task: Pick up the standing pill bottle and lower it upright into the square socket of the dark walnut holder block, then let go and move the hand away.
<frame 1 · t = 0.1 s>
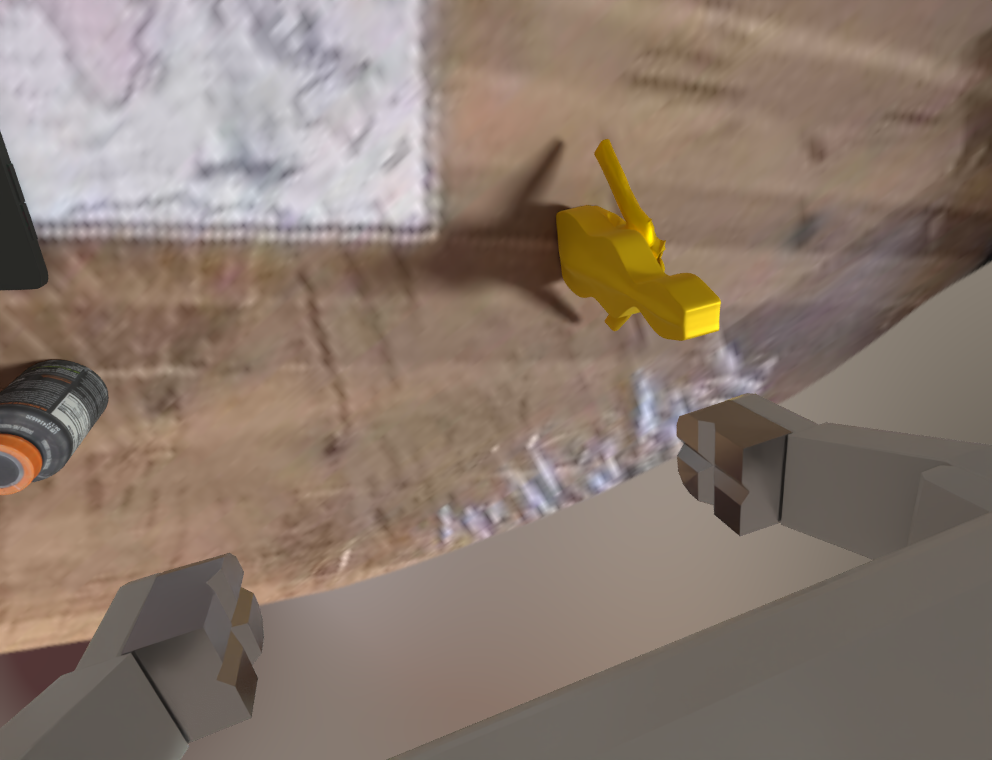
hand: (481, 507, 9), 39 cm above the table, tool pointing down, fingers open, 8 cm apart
pill bottle: (67, 390, 42), on the table
figure statuette: (575, 240, 50), on the table
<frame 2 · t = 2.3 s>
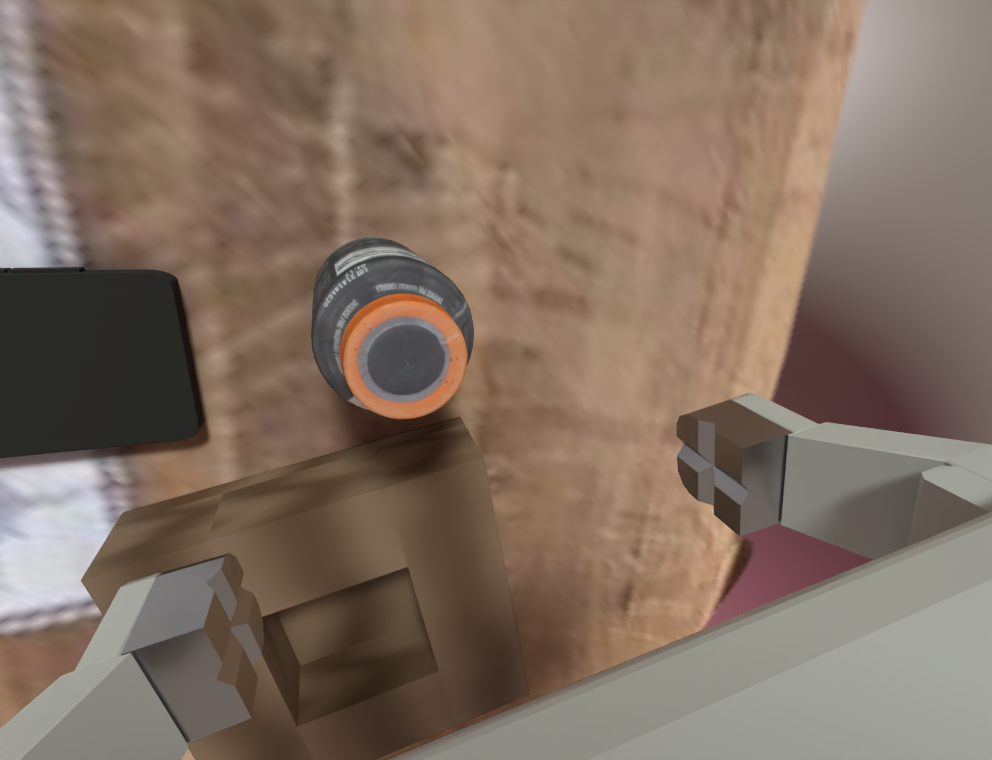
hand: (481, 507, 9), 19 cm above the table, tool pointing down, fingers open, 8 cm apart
pill bottle: (375, 295, 26), on the table
walnut holder: (347, 583, 32), on the table
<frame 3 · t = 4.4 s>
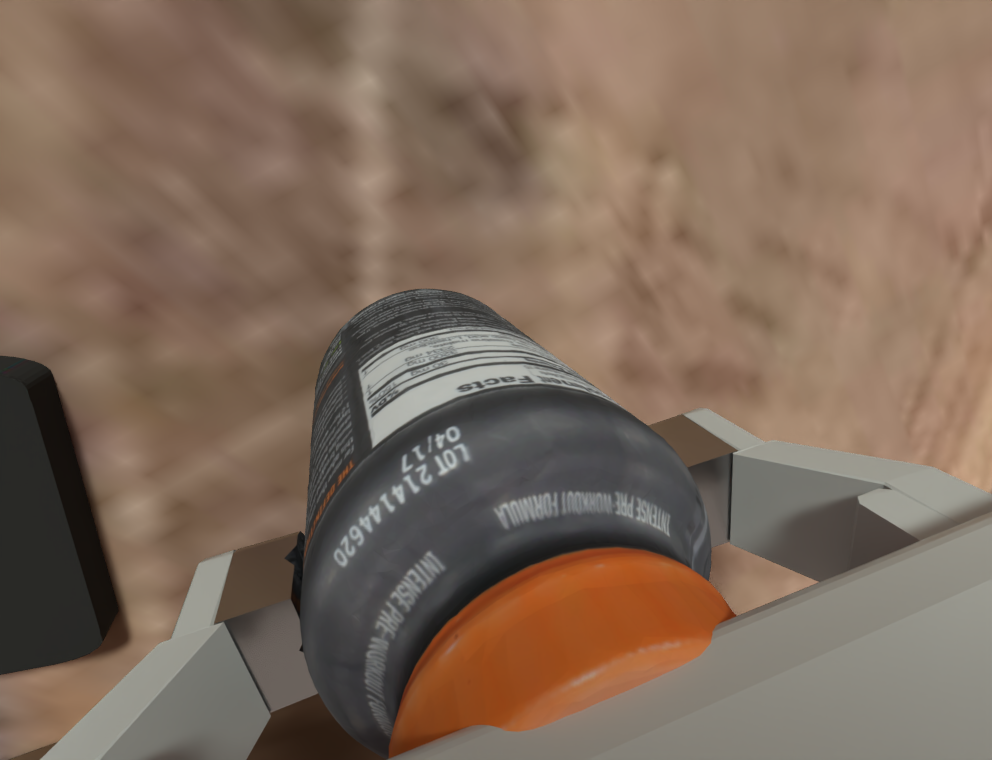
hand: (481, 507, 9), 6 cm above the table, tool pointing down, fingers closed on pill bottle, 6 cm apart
pill bottle: (424, 385, 15), on the table, touching gripper
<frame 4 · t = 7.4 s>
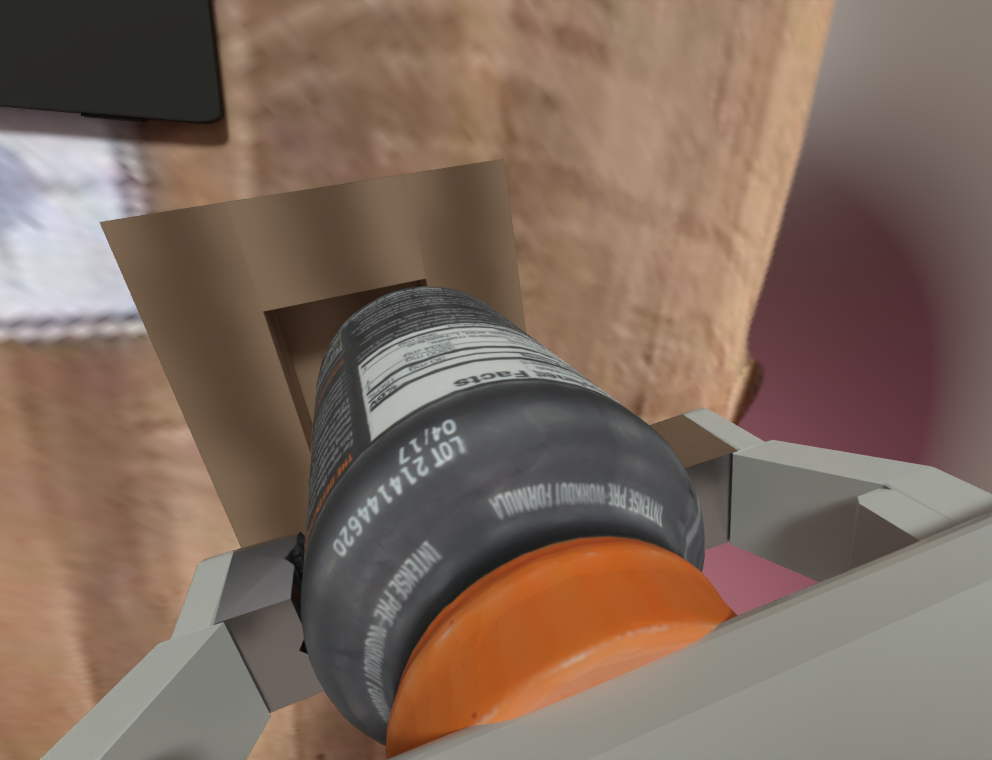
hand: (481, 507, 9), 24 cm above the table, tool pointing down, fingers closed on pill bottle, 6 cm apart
pill bottle: (424, 382, 15), point 17 cm above the table, touching gripper
walnut holder: (360, 342, 31), on the table
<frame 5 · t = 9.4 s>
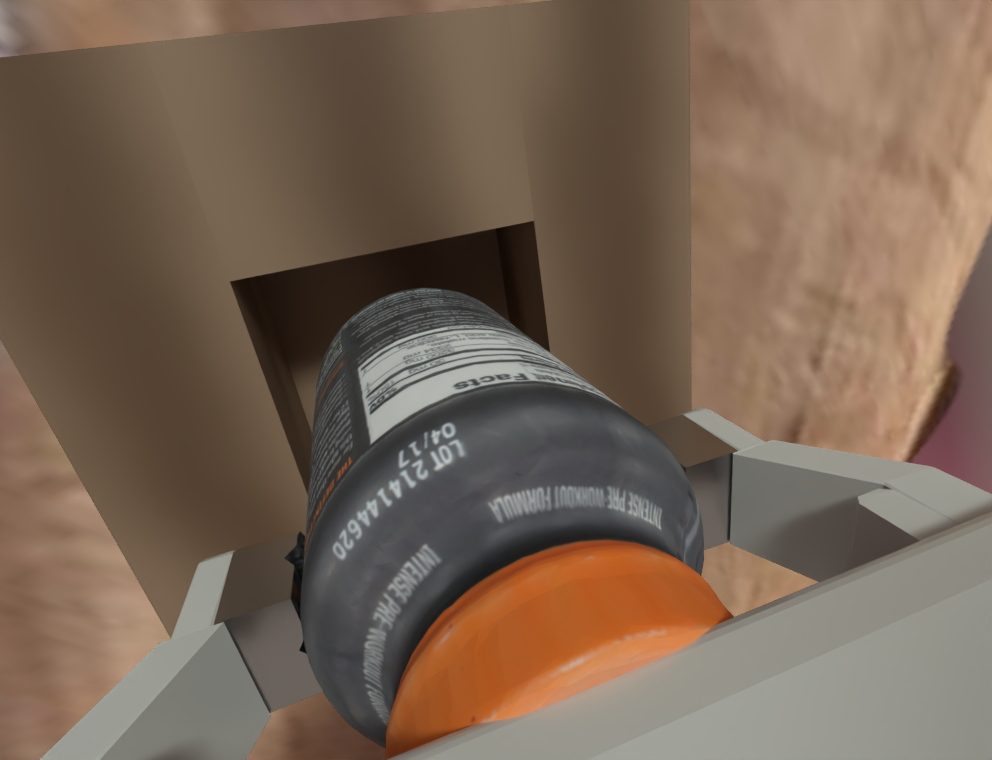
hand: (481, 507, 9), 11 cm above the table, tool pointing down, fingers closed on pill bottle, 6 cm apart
pill bottle: (424, 383, 15), point 5 cm above the table, touching gripper
walnut holder: (402, 341, 19), on the table
when the fingers open (8 cm above the table, at t = 10.8 s): pill bottle drops 1 cm, resting on walnut holder.
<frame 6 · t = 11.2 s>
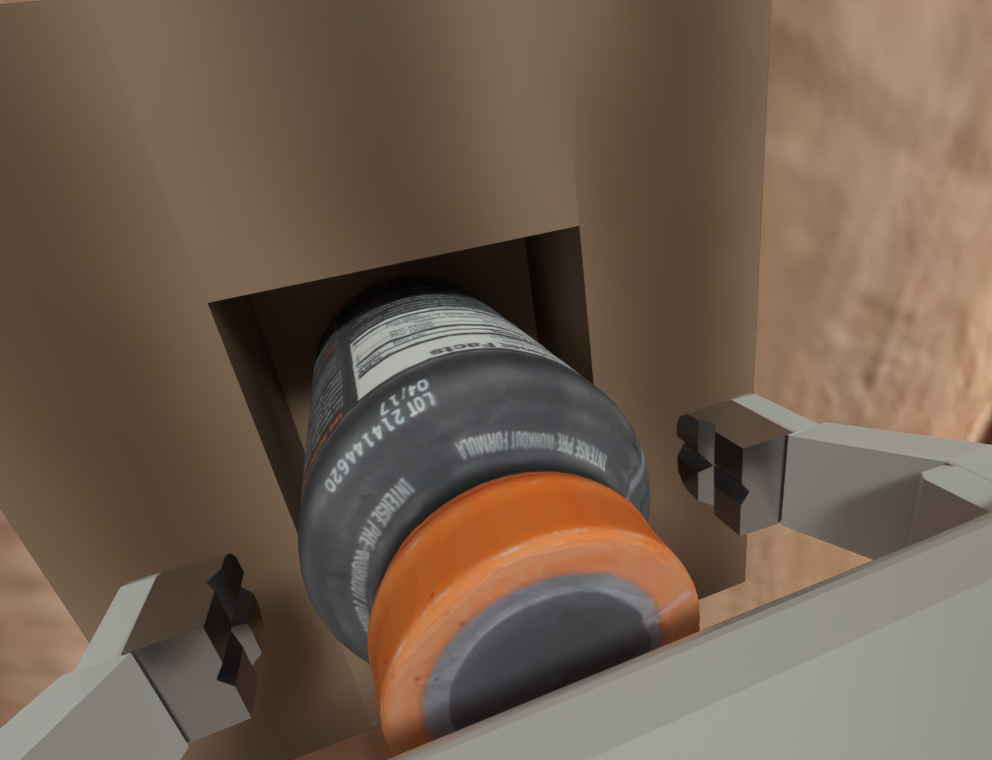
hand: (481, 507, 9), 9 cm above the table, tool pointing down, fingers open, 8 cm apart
pill bottle: (414, 367, 16), point 1 cm above the table, touching walnut holder
walnut holder: (415, 362, 17), on the table
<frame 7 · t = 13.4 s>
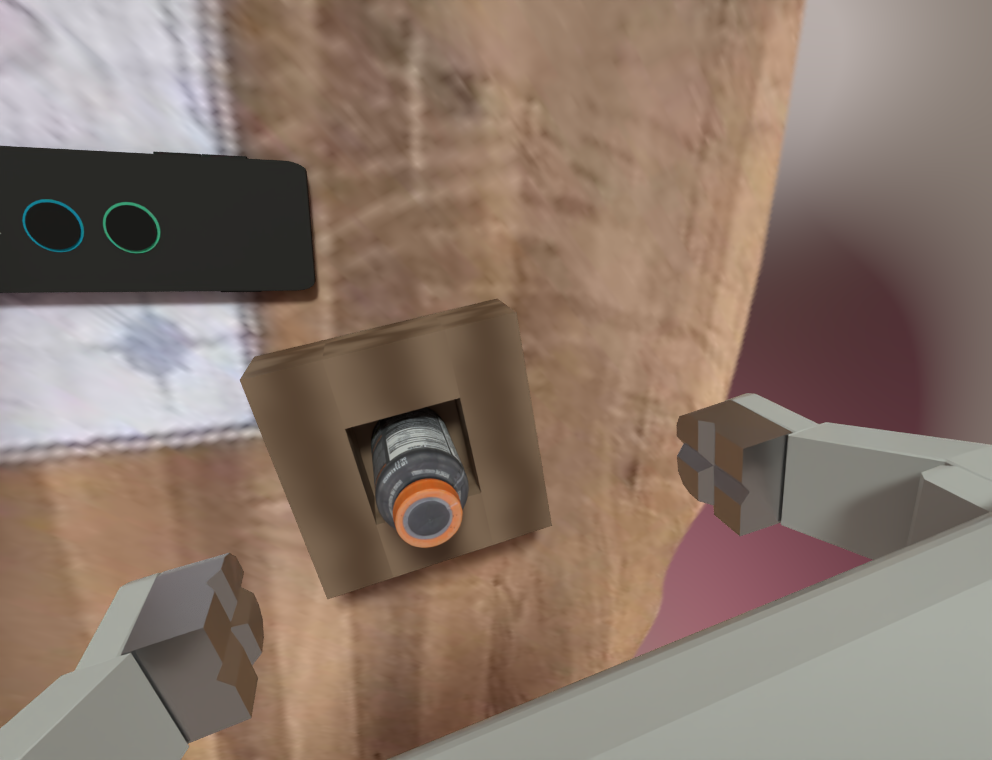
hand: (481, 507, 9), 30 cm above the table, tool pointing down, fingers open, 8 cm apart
pill bottle: (409, 436, 40), point 1 cm above the table, touching walnut holder
walnut holder: (410, 433, 41), on the table
smart home device: (144, 223, 32), on the table
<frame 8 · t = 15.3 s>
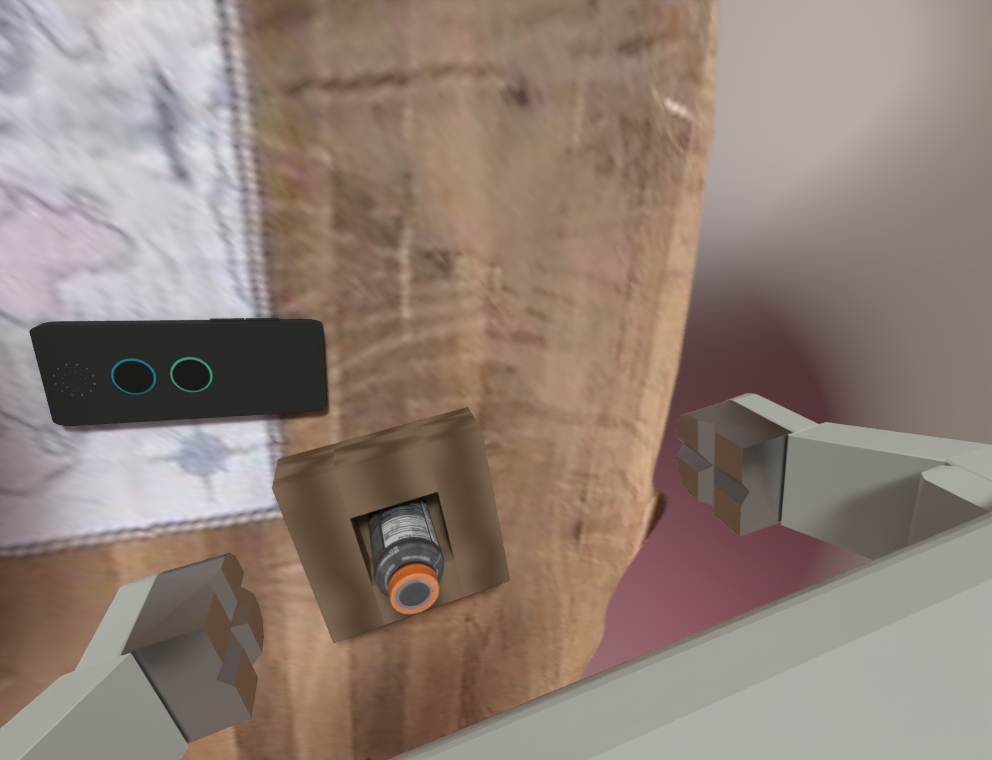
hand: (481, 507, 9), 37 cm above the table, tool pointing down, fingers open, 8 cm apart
pill bottle: (398, 513, 51), point 1 cm above the table, touching walnut holder
walnut holder: (398, 509, 52), on the table
smart home device: (198, 365, 42), on the table
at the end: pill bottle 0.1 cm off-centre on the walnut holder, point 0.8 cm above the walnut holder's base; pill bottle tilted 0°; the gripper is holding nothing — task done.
